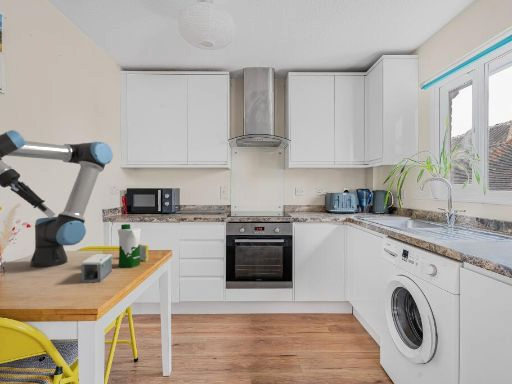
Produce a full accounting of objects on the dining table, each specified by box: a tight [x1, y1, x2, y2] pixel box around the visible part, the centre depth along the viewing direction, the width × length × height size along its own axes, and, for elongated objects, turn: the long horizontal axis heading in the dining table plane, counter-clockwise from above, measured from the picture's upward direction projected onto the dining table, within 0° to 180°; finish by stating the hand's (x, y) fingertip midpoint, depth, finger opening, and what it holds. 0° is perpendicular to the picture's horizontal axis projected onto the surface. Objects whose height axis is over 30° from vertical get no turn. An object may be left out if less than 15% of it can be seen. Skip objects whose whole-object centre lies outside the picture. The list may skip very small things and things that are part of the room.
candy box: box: [140, 244, 150, 263], centre depth 161 cm, size 16×2×8 cm, turn 58°
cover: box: [81, 253, 113, 265], centre depth 128 cm, size 16×7×1 cm, turn 11°
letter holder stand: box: [80, 255, 113, 284], centre depth 128 cm, size 16×8×7 cm, turn 11°
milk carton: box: [117, 223, 142, 269], centre depth 147 cm, size 9×9×20 cm
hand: (53, 215), depth 125 cm, fingers closed
